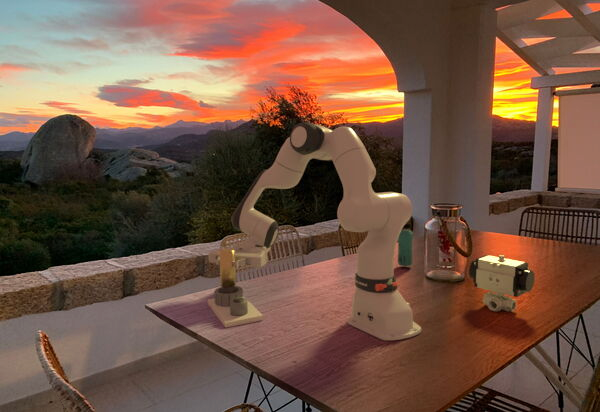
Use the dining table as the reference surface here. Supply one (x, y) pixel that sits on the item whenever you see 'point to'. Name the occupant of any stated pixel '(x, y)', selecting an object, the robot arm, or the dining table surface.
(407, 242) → the beverage bottle
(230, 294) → the fitting plate
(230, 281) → the amber cylinder
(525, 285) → the ball valve
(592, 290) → the dining table surface
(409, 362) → the dining table surface
